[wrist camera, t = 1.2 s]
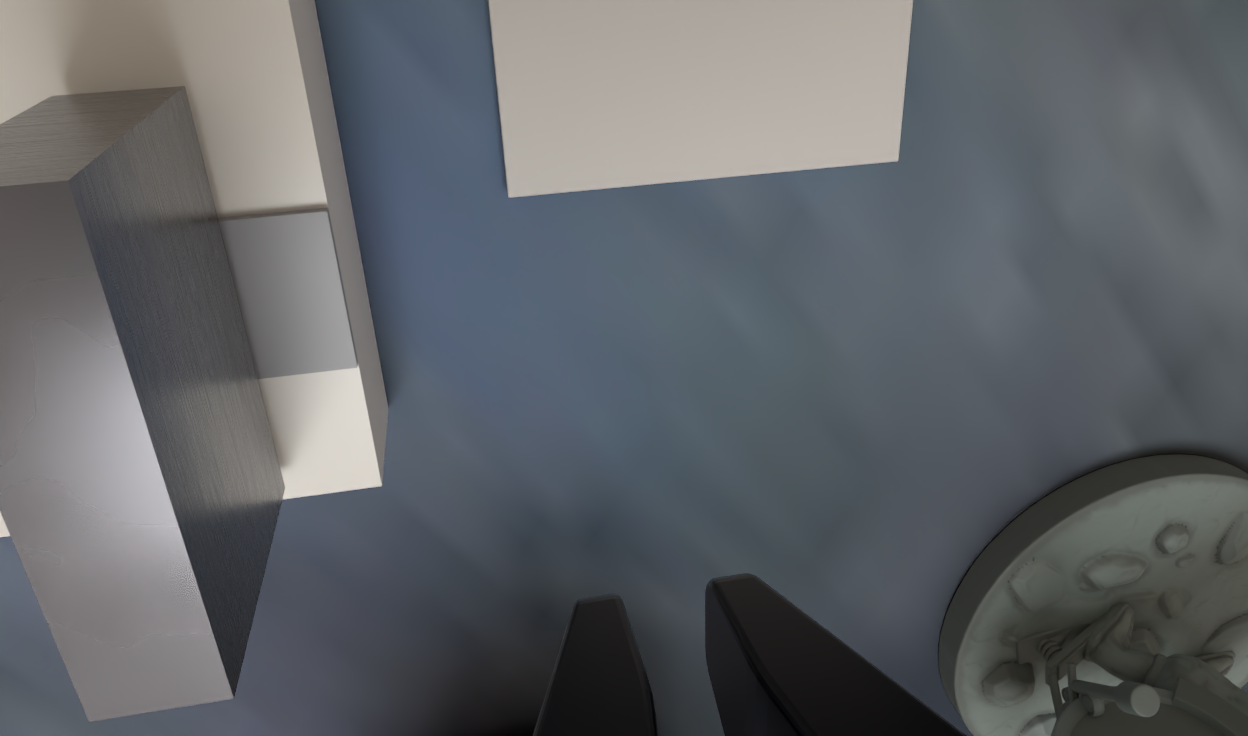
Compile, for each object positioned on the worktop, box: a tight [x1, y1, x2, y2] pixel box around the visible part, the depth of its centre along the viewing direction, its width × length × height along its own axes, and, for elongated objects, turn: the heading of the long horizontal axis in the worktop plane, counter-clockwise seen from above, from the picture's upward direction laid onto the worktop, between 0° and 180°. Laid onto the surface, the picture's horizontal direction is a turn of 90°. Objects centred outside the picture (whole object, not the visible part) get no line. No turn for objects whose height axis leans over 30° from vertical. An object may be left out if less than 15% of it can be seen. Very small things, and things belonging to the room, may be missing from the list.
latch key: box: [0, 86, 285, 722], centre depth 13 cm, size 7×5×5 cm
